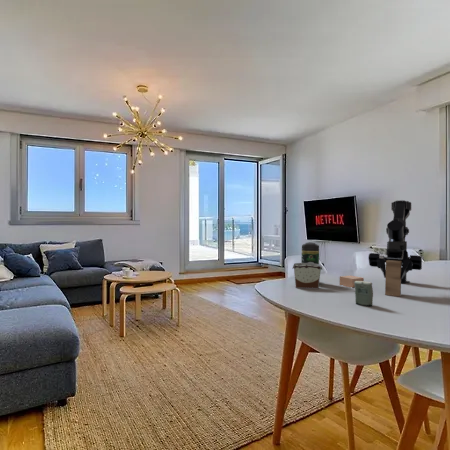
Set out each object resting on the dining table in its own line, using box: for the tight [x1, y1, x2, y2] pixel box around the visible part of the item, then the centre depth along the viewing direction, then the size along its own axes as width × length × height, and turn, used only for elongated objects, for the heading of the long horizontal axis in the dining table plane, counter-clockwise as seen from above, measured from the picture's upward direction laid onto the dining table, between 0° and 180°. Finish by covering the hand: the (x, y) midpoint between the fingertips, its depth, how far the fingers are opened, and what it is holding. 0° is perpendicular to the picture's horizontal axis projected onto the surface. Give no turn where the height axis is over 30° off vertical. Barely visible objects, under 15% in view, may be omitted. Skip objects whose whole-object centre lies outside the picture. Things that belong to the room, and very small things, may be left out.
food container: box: [292, 262, 323, 290], centre depth 142 cm, size 12×6×10 cm, turn 84°
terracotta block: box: [339, 275, 365, 289], centre depth 146 cm, size 7×7×4 cm
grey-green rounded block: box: [354, 281, 374, 307], centre depth 111 cm, size 6×5×8 cm
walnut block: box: [384, 260, 402, 298], centre depth 128 cm, size 5×5×13 cm
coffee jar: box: [300, 242, 320, 264], centre depth 152 cm, size 10×8×19 cm
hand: (392, 277), depth 127 cm, fingers closed on walnut block, 5 cm apart
